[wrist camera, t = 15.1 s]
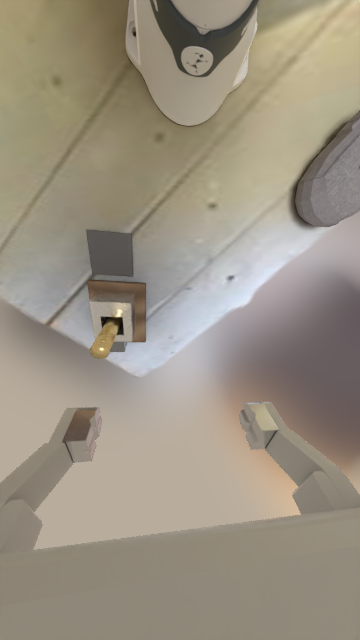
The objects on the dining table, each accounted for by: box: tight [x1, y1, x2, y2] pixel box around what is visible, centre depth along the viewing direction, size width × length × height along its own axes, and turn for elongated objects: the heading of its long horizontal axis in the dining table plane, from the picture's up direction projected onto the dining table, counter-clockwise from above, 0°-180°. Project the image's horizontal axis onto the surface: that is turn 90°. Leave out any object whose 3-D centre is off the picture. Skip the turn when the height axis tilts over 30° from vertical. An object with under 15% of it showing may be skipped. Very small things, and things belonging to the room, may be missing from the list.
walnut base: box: [87, 280, 146, 342], centre depth 45 cm, size 16×13×2 cm
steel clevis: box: [89, 290, 136, 352], centre depth 41 cm, size 14×8×7 cm, turn 175°
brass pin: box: [90, 317, 123, 359], centre depth 37 cm, size 3×3×16 cm
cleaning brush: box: [295, 111, 360, 227], centre depth 33 cm, size 15×8×20 cm
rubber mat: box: [86, 230, 133, 277], centre depth 39 cm, size 9×9×1 cm
